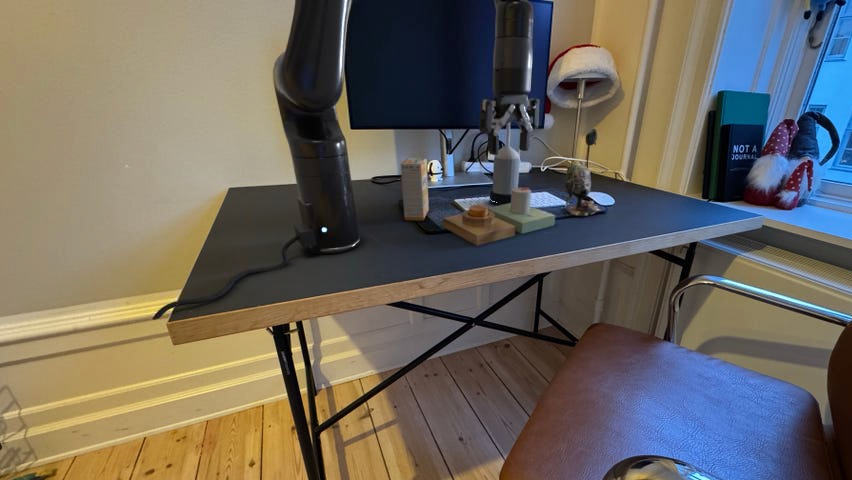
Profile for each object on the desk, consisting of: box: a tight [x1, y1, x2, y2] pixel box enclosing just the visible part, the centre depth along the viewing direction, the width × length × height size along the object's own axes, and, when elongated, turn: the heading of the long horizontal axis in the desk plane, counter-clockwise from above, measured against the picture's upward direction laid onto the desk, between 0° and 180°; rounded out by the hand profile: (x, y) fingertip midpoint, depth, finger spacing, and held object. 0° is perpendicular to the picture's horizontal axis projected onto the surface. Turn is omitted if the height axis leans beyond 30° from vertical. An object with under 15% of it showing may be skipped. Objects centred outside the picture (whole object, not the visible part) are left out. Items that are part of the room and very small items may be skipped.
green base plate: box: [487, 203, 556, 235], centre depth 86 cm, size 10×13×3 cm
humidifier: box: [489, 123, 521, 207], centre depth 95 cm, size 8×8×25 cm
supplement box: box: [400, 157, 430, 221], centre depth 86 cm, size 8×5×13 cm, turn 179°
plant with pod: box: [564, 128, 602, 217], centre depth 90 cm, size 8×11×20 cm
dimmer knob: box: [511, 186, 532, 214], centre depth 84 cm, size 4×4×5 cm
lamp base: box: [442, 209, 516, 246], centre depth 79 cm, size 10×13×4 cm
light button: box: [468, 204, 489, 217], centre depth 78 cm, size 4×4×2 cm
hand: (509, 152), depth 79 cm, fingers open, 8 cm apart
